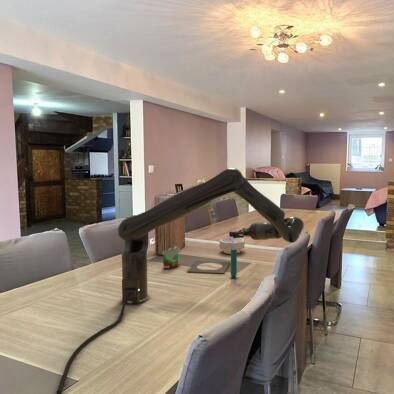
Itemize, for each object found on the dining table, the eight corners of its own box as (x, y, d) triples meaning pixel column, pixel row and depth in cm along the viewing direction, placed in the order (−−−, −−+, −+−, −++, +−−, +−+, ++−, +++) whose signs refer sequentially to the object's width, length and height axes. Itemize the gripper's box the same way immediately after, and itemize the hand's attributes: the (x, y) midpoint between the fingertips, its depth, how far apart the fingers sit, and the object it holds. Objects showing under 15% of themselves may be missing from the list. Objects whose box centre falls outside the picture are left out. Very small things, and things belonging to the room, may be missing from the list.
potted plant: (173, 270, 169) (173, 251, 168) (162, 269, 170) (162, 250, 169) (184, 263, 181) (183, 245, 180) (173, 263, 182) (173, 244, 181)
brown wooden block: (170, 256, 195) (169, 204, 193) (155, 255, 196) (154, 204, 194) (185, 245, 221) (184, 200, 218) (171, 245, 222) (171, 199, 219)
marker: (236, 279, 158) (236, 249, 157) (230, 278, 159) (230, 249, 157) (237, 277, 161) (237, 248, 160) (231, 276, 161) (231, 248, 160)
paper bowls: (232, 257, 196) (232, 243, 195) (214, 252, 205) (214, 239, 204) (249, 251, 208) (249, 239, 207) (231, 247, 217) (231, 235, 216)
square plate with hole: (223, 274, 165) (223, 272, 165) (187, 272, 167) (187, 271, 167) (229, 263, 183) (229, 262, 183) (197, 262, 185) (197, 260, 185)
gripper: (271, 219, 151) (245, 221, 161) (249, 225, 140) (223, 227, 151) (274, 235, 151) (248, 236, 162) (252, 243, 140) (226, 243, 151)
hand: (236, 232), depth 156 cm, fingers open, 8 cm apart
